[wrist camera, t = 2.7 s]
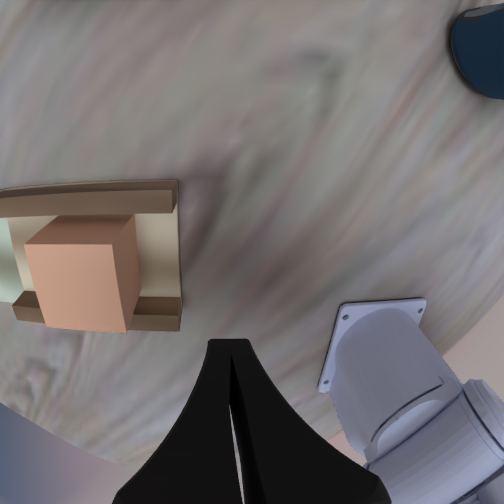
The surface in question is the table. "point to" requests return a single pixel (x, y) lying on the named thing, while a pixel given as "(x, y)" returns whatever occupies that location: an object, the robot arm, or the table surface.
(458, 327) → the table surface
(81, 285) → the block
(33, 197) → the chute
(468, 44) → the soda can
